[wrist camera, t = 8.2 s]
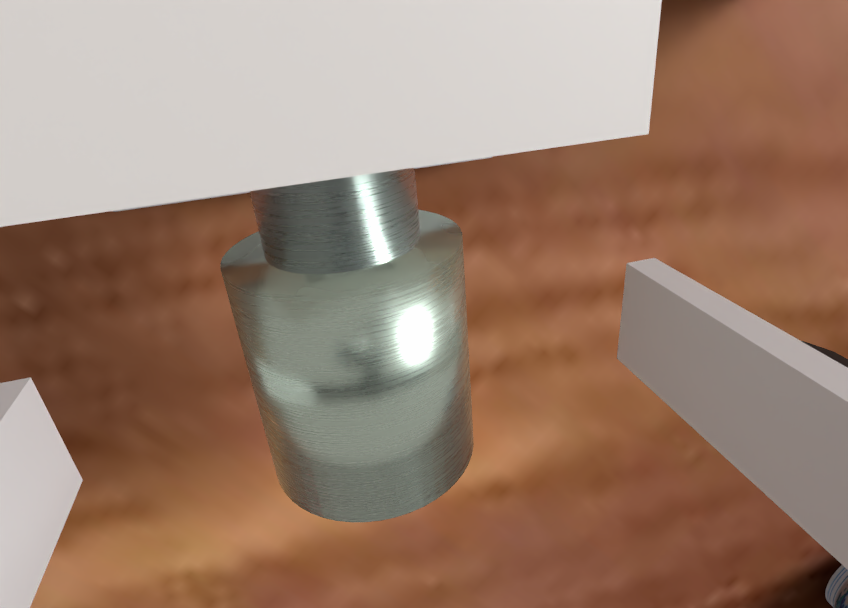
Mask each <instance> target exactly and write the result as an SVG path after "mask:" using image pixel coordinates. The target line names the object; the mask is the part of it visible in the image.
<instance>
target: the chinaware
mask: <svg viewBox="0 0 848 608" xmlns="http://www.w3.org/2000/svg"><path fill="white" fill-rule="evenodd" d="M825 597H826V600H827V601H828V602H829V604H830V605H831V606H832V607H833V608H848V570H847V569H846V568H845V567H844V566H843V565H841V566H840V567H839V568H838V569H837V570H836V571H835V573H834V574H833V575H832V577H831V578H830V580H829V582H828V584H827V586H826V590H825Z"/></svg>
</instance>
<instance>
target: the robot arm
mask: <svg viewBox="0 0 848 608" xmlns="http://www.w3.org/2000/svg"><path fill="white" fill-rule="evenodd" d="M617 359H618V360H619V361H620V362H621V363H623V364H624V365H625V366H626V367H627V368H628V369H629V370H630V371H631V372H632V373H633V374H635V375H636V376H637V377H638V378H639V379H640V380H641V381H642V382H643V383H644V384H645V385H647V386H648V387H649V388H650V389H651V390H652V391H653V392H654V393H655V394H656V395H657V396H659V397H660V398H661V399H662V400H663V401H664V402H665V403H666V404H667V405H668V406H670V407H671V408H672V409H673V410H674V411H675V412H676V413H677V414H678V415H679V416H680V417H682V418H683V419H684V420H685V421H686V422H687V423H688V424H689V425H690V426H691V427H692V428H694V429H695V430H696V431H697V432H698V433H699V434H700V435H701V436H702V437H703V438H704V439H706V440H707V441H708V442H709V443H710V444H711V445H712V446H713V447H714V448H715V449H716V450H718V451H719V452H720V453H721V454H722V455H723V456H724V457H725V458H726V459H727V460H728V461H730V462H731V463H732V464H733V465H734V466H735V467H736V468H737V469H738V470H739V471H740V472H742V473H743V474H744V475H745V476H746V477H747V478H748V479H749V480H750V481H751V482H752V483H754V484H755V485H756V486H757V487H758V488H759V489H760V490H761V491H762V492H763V493H764V494H766V495H767V496H768V497H769V498H770V499H771V500H772V501H773V502H774V503H775V504H777V505H778V506H779V507H780V508H781V509H782V510H783V511H784V512H785V513H786V514H787V515H789V516H790V517H791V518H792V519H793V520H794V521H795V522H796V523H797V524H798V525H799V526H801V527H802V528H803V529H804V530H805V531H806V532H807V533H808V534H809V535H810V536H811V537H813V538H814V539H815V540H816V541H817V542H818V543H819V544H820V545H821V546H822V547H823V548H825V549H826V550H827V551H828V552H829V553H830V554H831V555H832V556H833V557H834V558H835V559H837V560H838V561H839V562H840V563H841V564H842V565H843V566H844V567H845V568H846V569H847V570H848V359H846V358H844V357H842V356H841V355H839V354H837V353H835V352H833V351H830V350H827V349H824V348H821V347H818V346H816V345H813V344H810V343H807V342H804V341H800V340H798V339H796V338H794V337H793V336H791V335H789V334H787V333H786V332H784V331H782V330H780V329H779V328H777V327H775V326H773V325H772V324H770V323H768V322H766V321H765V320H763V319H761V318H759V317H758V316H756V315H754V314H752V313H750V312H749V311H747V310H745V309H743V308H742V307H740V306H738V305H736V304H735V303H733V302H731V301H729V300H728V299H726V298H724V297H722V296H721V295H719V294H717V293H715V292H714V291H712V290H710V289H708V288H707V287H705V286H703V285H701V284H699V283H698V282H696V281H694V280H692V279H691V278H689V277H687V276H685V275H684V274H682V273H680V272H678V271H677V270H675V269H673V268H671V267H670V266H668V265H666V264H664V263H663V262H661V261H659V260H657V259H656V258H652V259H646V260H641V261H636V262H631V263H627V265H626V275H625V285H624V294H623V304H622V314H621V324H620V334H619V343H618V353H617ZM82 481H83V480H82V478H81V476H80V474H79V472H78V470H77V468H76V466H75V464H74V462H73V460H72V458H71V456H70V454H69V452H68V450H67V448H66V446H65V444H64V442H63V440H62V438H61V436H60V434H59V432H58V430H57V428H56V426H55V424H54V422H53V420H52V418H51V416H50V414H49V412H48V410H47V408H46V406H45V404H44V402H43V400H42V399H41V397H40V395H39V393H38V391H37V389H36V387H35V385H34V383H33V381H32V379H31V377H30V378H25V379H19V380H14V381H9V382H4V383H0V608H30V606H31V604H32V601H33V599H34V597H35V594H36V592H37V589H38V587H39V585H40V582H41V580H42V577H43V575H44V572H45V570H46V568H47V565H48V563H49V560H50V558H51V556H52V553H53V551H54V548H55V546H56V544H57V541H58V539H59V536H60V534H61V531H62V529H63V527H64V524H65V522H66V519H67V517H68V515H69V512H70V510H71V507H72V505H73V503H74V500H75V498H76V495H77V493H78V490H79V488H80V486H81V483H82Z"/></svg>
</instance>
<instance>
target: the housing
mask: <svg viewBox="0 0 848 608" xmlns="http://www.w3.org/2000/svg"><path fill="white" fill-rule="evenodd" d="M661 3H662V0H0V227H3V226H10V225H17V224H24V223H31V222H38V221H45V220H52V219H59V218H66V217H73V216H80V215H87V214H94V213H101V212H108V211H113V212H117V211H124V210H131V209H138V208H145V207H152V206H159V205H165V204H172V203H179V202H186V201H193V200H200V199H207V198H214V197H221V196H228V195H235V194H242V193H249V192H250V191H254V190H261V189H268V188H275V187H282V186H289V185H296V184H303V183H310V182H317V181H324V180H331V179H338V178H345V177H352V176H359V175H366V174H373V173H380V172H387V171H394V170H401V169H408V168H415V169H416V168H423V167H430V166H437V165H444V164H451V163H458V162H465V161H472V160H479V159H486V158H492V156H499V155H506V154H513V153H520V152H527V151H534V150H541V149H548V148H554V147H561V146H568V145H575V144H582V143H589V142H596V141H603V140H610V139H617V138H624V137H631V136H638V135H645V134H649V124H650V114H651V104H652V94H653V84H654V74H655V64H656V54H657V43H658V33H659V23H660V13H661Z"/></svg>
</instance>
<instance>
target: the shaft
mask: <svg viewBox="0 0 848 608" xmlns="http://www.w3.org/2000/svg"><path fill="white" fill-rule="evenodd" d="M250 195H251V200H252V204H253V208H254V213H255V217H256V221H257V226H258V230H259V231H258V232H256V233H254V234H252V235H250V236H248V237H246V238H245V239H243V240H241V241H240V242H238V243H237V244H235V245H234V246H233V247H232V248H231V249H229V250H228V251H227V252H226V254H225V255H224V257H223V258H222V261H221V272H222V276H223V280H224V283H225V287H226V291H227V294H228V298H229V302H230V305H231V309H232V313H233V316H234V320H235V324H236V327H237V331H238V335H239V338H240V342H241V346H242V349H243V353H244V357H245V360H246V364H247V368H248V371H249V375H250V378H251V382H252V386H253V389H254V393H255V397H256V400H257V404H258V408H259V411H260V415H261V419H262V422H263V426H264V430H265V433H266V437H267V441H268V444H269V448H270V452H271V455H272V459H273V463H274V466H275V470H276V474H277V477H278V480H279V483H280V485H281V487H282V489H283V490H284V492H285V493H286V494H287V496H288V497H289V498H290V499H291V500H292V501H293V502H294V503H296V504H297V505H298V506H300V507H301V508H303V509H305V510H306V511H308V512H310V513H312V514H315V515H318V516H320V517H323V518H327V519H332V520H336V521H345V522H371V521H380V520H385V519H390V518H394V517H398V516H401V515H404V514H407V513H410V512H413V511H415V510H417V509H419V508H421V507H424V506H426V505H427V504H429V503H431V502H432V501H434V500H436V499H437V498H439V497H440V496H441V495H443V494H444V493H445V492H447V491H448V490H449V489H450V488H451V487H452V486H453V485H454V484H455V483H456V482H457V481H458V479H459V478H460V477H461V475H462V474H463V473H464V471H465V469H466V467H467V466H468V464H469V461H470V458H471V456H472V451H473V424H472V405H471V387H470V368H469V350H468V331H467V313H466V295H465V276H464V258H463V239H462V232H461V229H460V227H459V226H458V225H457V224H456V223H455V222H453V221H452V220H450V219H448V218H446V217H444V216H442V215H439V214H436V213H432V212H428V211H423V210H418V201H417V190H416V179H415V168H408V169H401V170H394V171H387V172H380V173H373V174H366V175H359V176H352V177H345V178H338V179H331V180H324V181H317V182H310V183H303V184H296V185H289V186H282V187H275V188H268V189H261V190H254V191H250Z"/></svg>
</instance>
